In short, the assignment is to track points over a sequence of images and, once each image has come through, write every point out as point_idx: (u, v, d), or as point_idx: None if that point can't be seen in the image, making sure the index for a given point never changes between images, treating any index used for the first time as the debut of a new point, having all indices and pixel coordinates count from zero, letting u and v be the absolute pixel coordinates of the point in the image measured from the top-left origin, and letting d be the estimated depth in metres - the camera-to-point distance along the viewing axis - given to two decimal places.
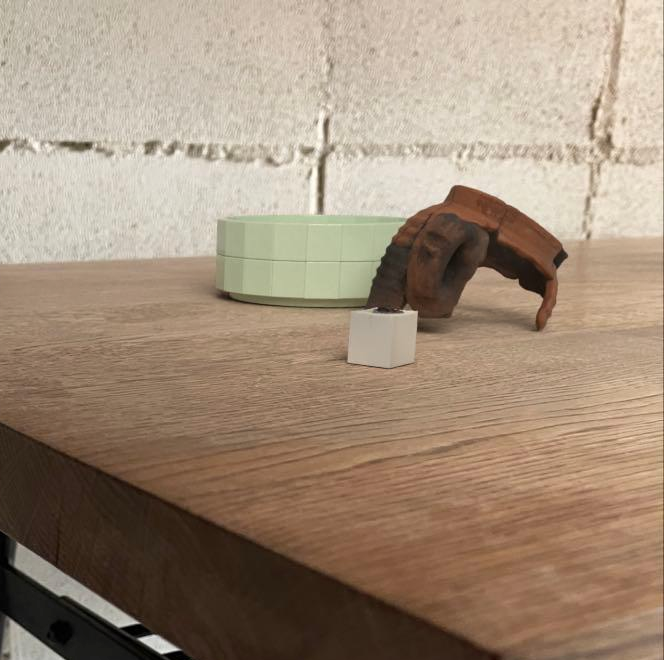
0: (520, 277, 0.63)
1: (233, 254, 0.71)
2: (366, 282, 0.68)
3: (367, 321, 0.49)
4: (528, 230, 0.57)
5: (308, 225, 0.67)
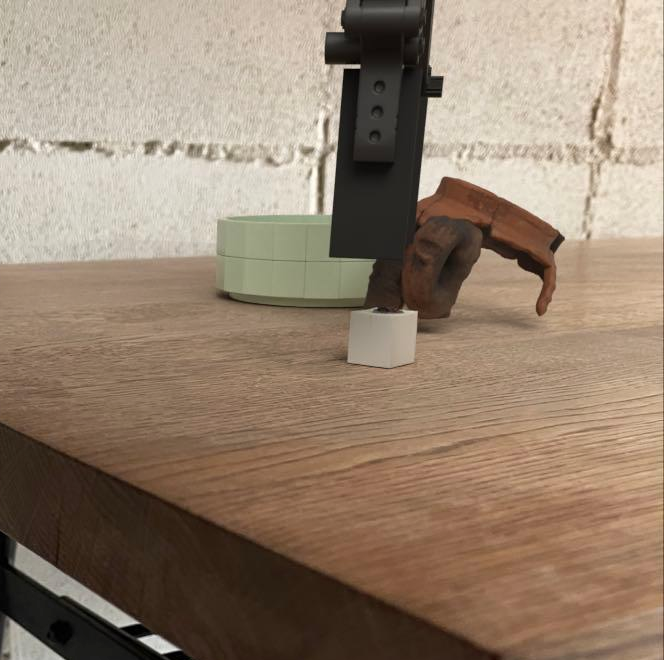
0: (518, 258, 0.62)
1: (233, 254, 0.71)
2: (366, 282, 0.68)
3: (366, 321, 0.49)
4: (522, 222, 0.56)
5: (308, 225, 0.67)
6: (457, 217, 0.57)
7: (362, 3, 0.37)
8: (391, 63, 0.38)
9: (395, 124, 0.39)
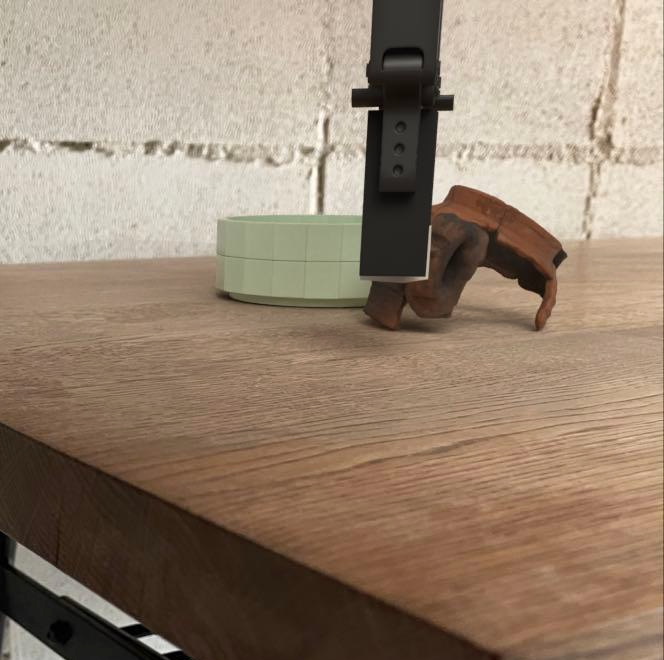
0: (519, 277, 0.63)
1: (233, 254, 0.71)
2: (366, 282, 0.68)
3: None
4: (527, 230, 0.57)
5: (308, 225, 0.67)
6: (464, 220, 0.57)
7: (384, 65, 0.42)
8: (410, 106, 0.43)
9: (415, 159, 0.44)
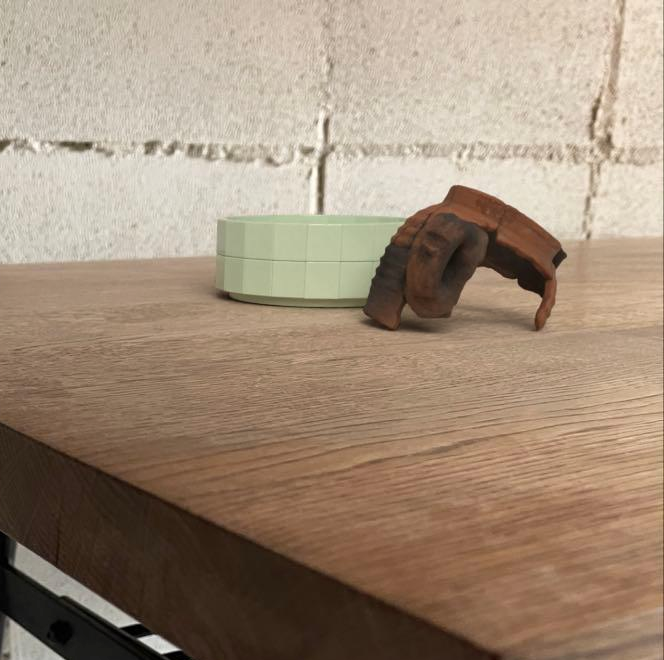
0: (519, 277, 0.63)
1: (233, 254, 0.71)
2: (366, 282, 0.68)
3: None
4: (527, 229, 0.57)
5: (308, 225, 0.67)
6: (464, 220, 0.57)
7: None
8: None
9: None
